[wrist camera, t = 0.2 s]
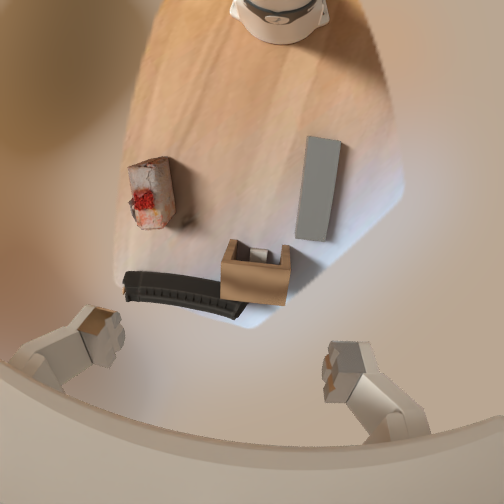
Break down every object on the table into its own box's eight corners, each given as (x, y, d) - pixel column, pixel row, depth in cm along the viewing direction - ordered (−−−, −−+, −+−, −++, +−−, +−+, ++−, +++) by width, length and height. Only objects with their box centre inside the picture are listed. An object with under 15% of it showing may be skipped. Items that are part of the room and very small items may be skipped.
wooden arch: (230, 239, 60) (221, 262, 51) (289, 245, 60) (290, 270, 50) (228, 271, 64) (220, 298, 54) (284, 277, 63) (284, 306, 54)
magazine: (260, 310, 57) (112, 311, 50) (258, 322, 58) (115, 323, 51) (245, 268, 72) (126, 267, 65) (244, 278, 73) (127, 278, 66)
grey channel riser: (307, 135, 49) (308, 136, 47) (337, 140, 49) (341, 141, 46) (294, 232, 58) (295, 238, 56) (323, 236, 58) (325, 241, 55)
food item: (181, 217, 59) (165, 235, 50) (149, 219, 60) (128, 237, 51) (172, 154, 53) (152, 161, 44) (138, 160, 54) (114, 168, 45)
